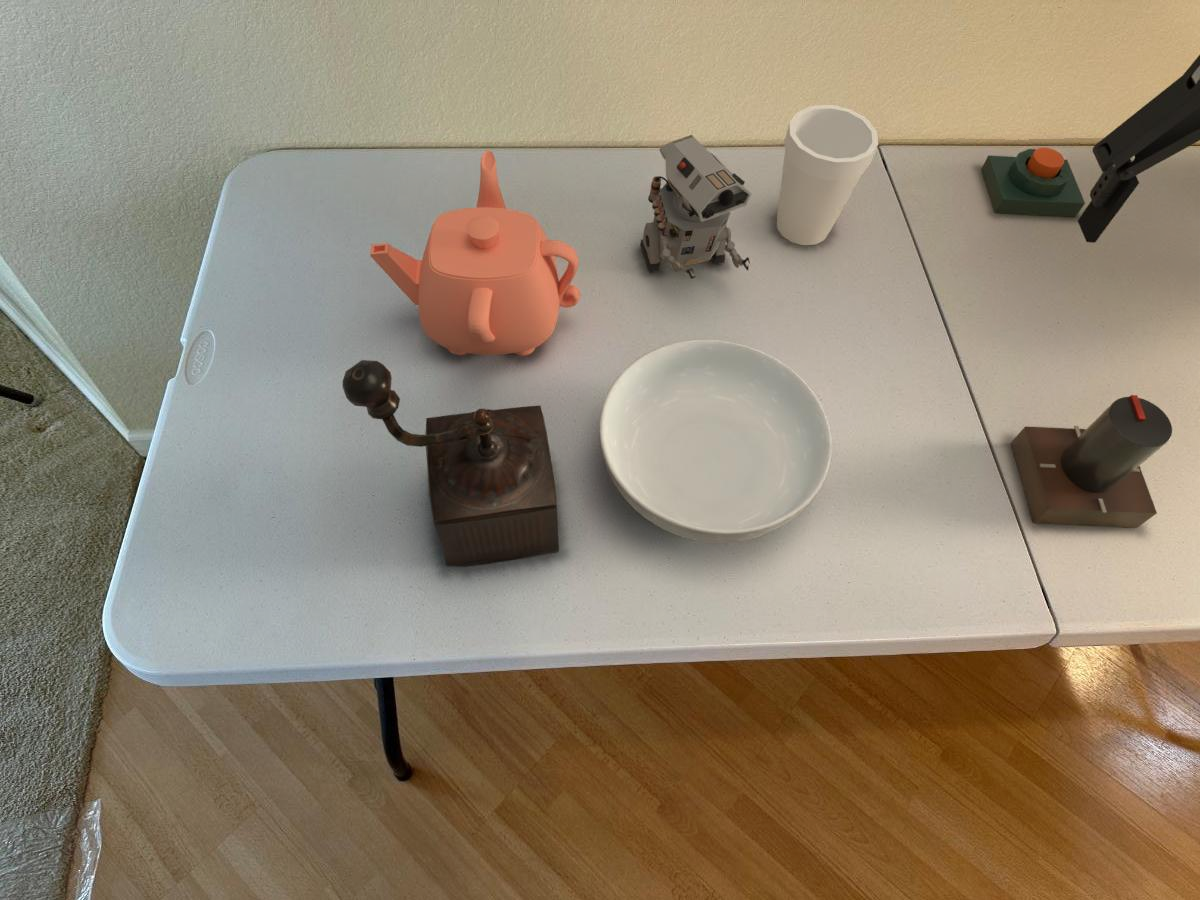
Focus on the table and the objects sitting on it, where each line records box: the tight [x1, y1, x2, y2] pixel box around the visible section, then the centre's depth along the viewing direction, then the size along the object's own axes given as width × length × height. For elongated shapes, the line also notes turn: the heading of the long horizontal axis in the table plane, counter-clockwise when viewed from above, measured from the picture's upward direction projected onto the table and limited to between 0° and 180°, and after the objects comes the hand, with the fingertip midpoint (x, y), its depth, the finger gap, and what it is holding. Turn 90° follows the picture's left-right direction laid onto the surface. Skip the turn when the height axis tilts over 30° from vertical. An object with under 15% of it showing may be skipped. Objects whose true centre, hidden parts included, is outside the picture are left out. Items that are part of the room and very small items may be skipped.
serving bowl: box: [598, 339, 833, 544], centre depth 75 cm, size 21×21×7 cm
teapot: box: [369, 150, 581, 357], centre depth 81 cm, size 16×17×14 cm
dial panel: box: [1010, 425, 1158, 529], centre depth 77 cm, size 10×9×3 cm
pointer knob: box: [1062, 394, 1173, 492], centre depth 73 cm, size 5×5×8 cm
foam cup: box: [776, 104, 879, 246], centre depth 91 cm, size 10×9×13 cm
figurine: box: [639, 134, 753, 280], centre depth 85 cm, size 9×12×15 cm
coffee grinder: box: [341, 359, 560, 568], centre depth 67 cm, size 16×11×18 cm
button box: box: [980, 148, 1086, 218], centre depth 99 cm, size 10×8×4 cm
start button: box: [1027, 147, 1065, 178], centre depth 97 cm, size 4×4×2 cm
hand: (1161, 234), depth 71 cm, fingers open, 13 cm apart
